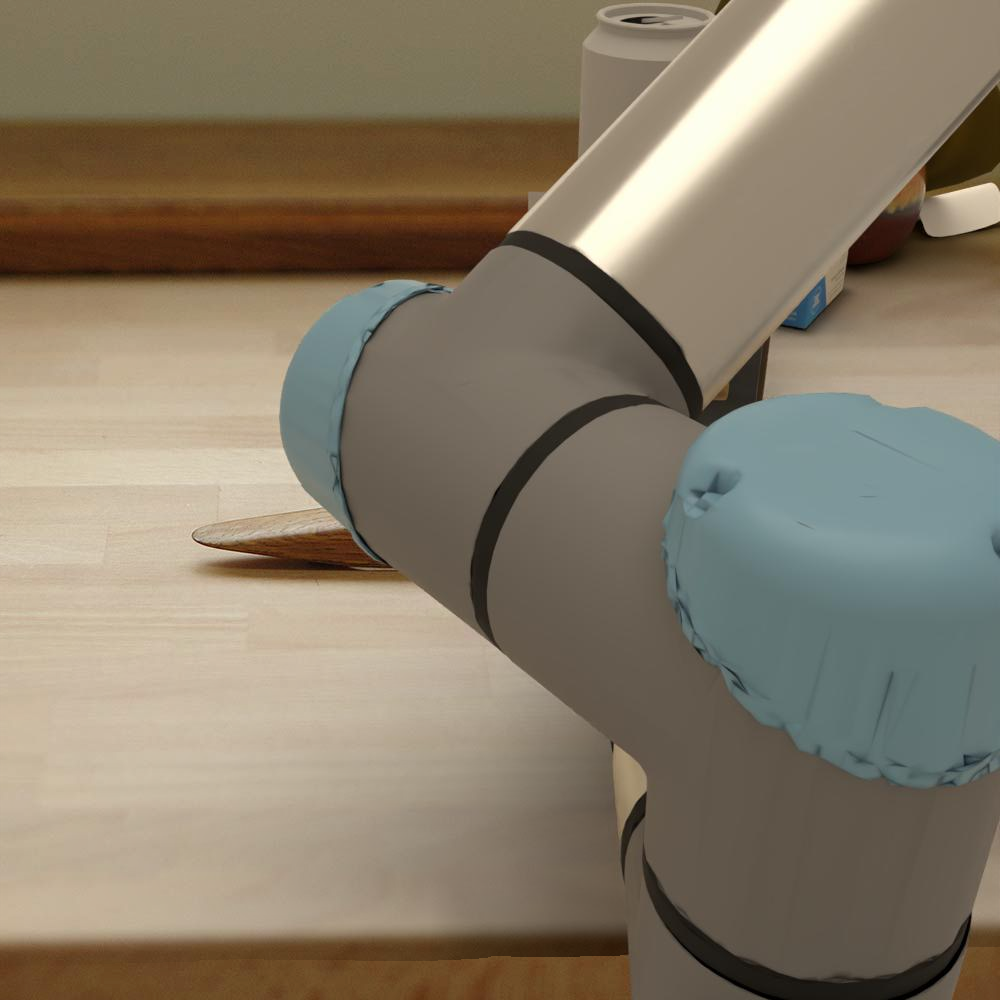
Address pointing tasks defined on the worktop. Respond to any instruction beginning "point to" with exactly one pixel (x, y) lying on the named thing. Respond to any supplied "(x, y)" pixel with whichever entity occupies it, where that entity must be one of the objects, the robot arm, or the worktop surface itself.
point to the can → (629, 58)
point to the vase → (891, 224)
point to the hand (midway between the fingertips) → (665, 405)
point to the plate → (963, 144)
